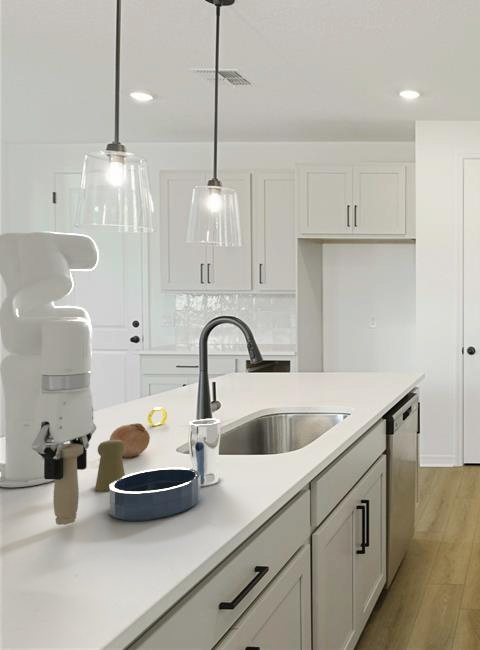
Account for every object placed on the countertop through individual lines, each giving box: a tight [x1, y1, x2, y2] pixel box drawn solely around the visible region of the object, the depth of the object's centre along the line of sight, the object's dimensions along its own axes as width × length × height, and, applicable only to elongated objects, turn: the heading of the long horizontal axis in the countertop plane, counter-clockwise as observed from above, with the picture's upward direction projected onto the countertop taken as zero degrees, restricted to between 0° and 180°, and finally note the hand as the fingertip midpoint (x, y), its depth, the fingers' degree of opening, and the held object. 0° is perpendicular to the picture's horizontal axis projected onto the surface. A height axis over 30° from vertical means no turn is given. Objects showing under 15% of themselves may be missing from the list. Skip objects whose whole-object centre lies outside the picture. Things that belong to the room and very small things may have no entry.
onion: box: [109, 422, 151, 459], centre depth 159 cm, size 10×9×10 cm
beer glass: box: [187, 418, 222, 487], centre depth 138 cm, size 7×7×15 cm
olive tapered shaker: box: [95, 439, 126, 492], centre depth 134 cm, size 6×6×11 cm
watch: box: [147, 406, 168, 427], centre depth 195 cm, size 6×3×6 cm, turn 156°
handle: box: [51, 442, 83, 526], centre depth 111 cm, size 5×6×15 cm
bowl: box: [108, 467, 201, 522], centre depth 122 cm, size 17×17×6 cm
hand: (65, 473), depth 111 cm, fingers closed on handle, 5 cm apart
